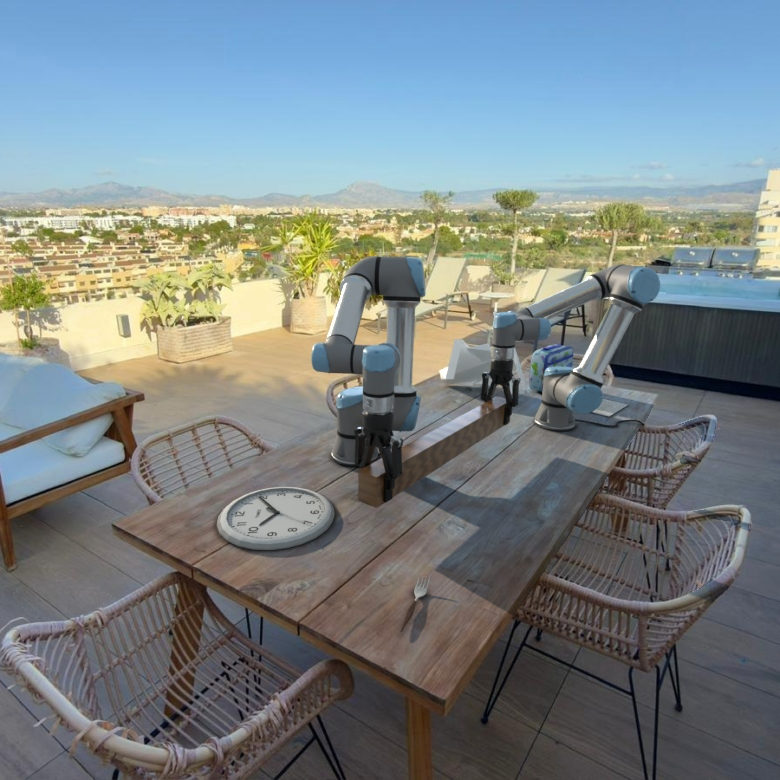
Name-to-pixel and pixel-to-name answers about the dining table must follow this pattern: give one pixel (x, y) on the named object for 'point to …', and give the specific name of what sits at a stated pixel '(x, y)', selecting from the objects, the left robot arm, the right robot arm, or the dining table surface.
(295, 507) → the wall clock
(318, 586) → the dining table surface
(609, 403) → the invitation card
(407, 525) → the dining table surface
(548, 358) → the lunch box
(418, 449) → the post
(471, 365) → the white plastic object
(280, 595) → the dining table surface
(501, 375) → the right robot arm
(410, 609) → the fork
